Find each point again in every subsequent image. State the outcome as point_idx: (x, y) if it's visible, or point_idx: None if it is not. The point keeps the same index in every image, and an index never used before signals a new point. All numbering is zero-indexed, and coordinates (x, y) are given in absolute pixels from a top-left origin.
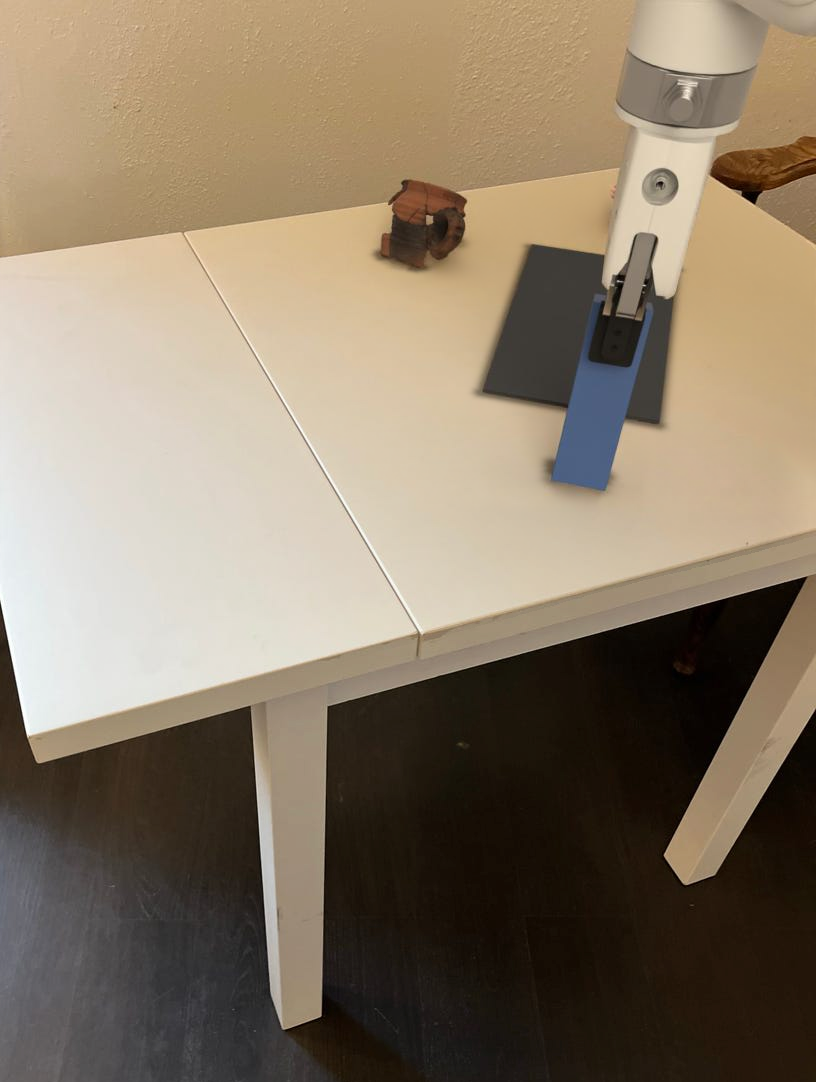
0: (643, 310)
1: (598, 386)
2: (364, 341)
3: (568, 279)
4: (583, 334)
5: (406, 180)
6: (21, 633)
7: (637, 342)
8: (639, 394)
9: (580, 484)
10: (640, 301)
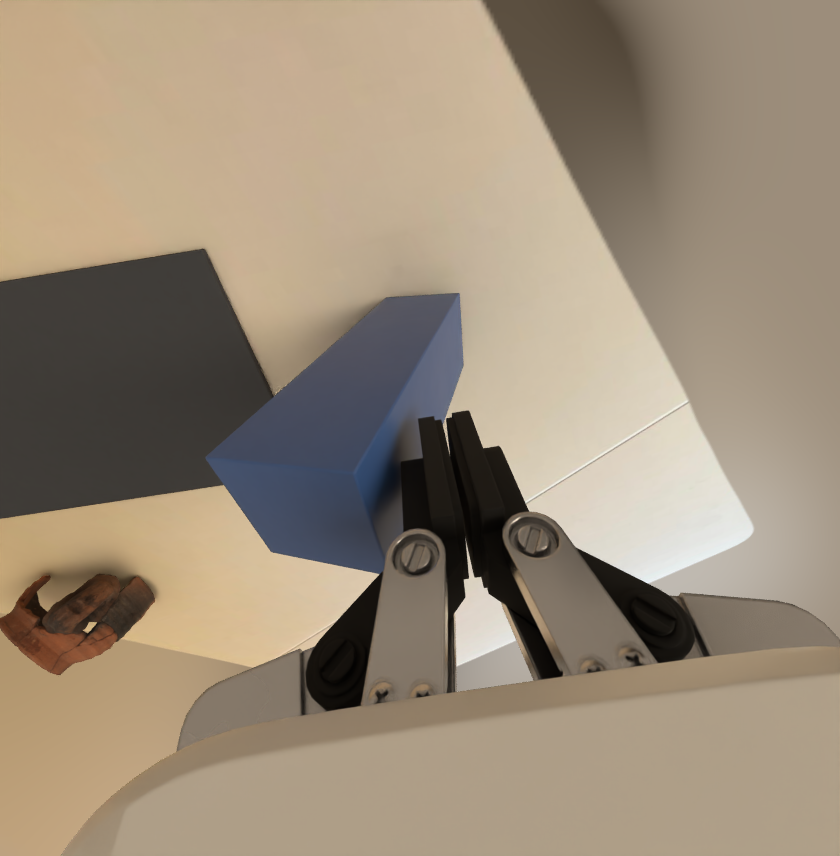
0: (583, 559)
1: (430, 414)
2: (300, 563)
3: None
4: (84, 417)
5: (60, 674)
6: (682, 568)
7: (481, 450)
8: (157, 301)
9: (461, 330)
10: (688, 631)
